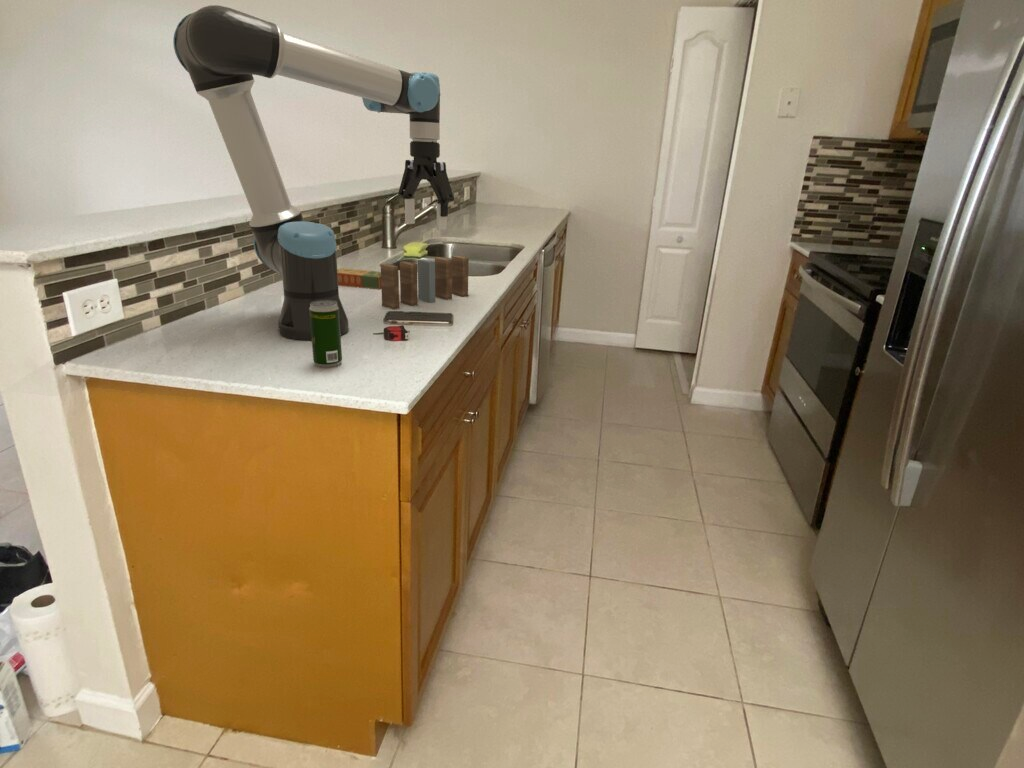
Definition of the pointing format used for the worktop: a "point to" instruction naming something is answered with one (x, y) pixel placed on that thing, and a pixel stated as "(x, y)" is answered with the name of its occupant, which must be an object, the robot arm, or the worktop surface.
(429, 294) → the domino
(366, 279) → the carton
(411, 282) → the domino
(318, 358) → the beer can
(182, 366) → the worktop surface
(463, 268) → the domino
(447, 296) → the domino
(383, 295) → the domino
